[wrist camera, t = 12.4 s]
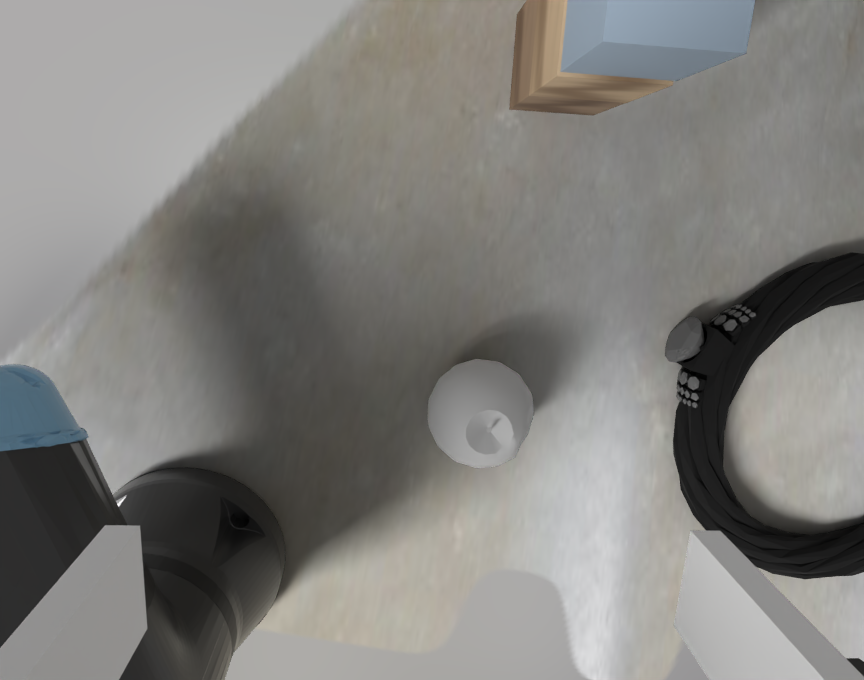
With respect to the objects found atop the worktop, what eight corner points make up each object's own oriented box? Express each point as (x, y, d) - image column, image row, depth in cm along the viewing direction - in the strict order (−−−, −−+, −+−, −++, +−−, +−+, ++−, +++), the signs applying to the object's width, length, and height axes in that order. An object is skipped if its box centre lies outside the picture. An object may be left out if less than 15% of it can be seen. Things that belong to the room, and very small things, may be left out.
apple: (404, 391, 45) (407, 432, 38) (481, 327, 44) (501, 355, 37) (466, 459, 47) (481, 512, 39) (541, 399, 46) (572, 440, 38)
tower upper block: (529, 95, 35) (556, 76, 29) (539, -17, 34) (570, -61, 28) (626, 102, 36) (672, 84, 30) (640, -8, 34) (691, -49, 28)
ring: (887, 635, 50) (593, 500, 45) (852, 604, 54) (577, 476, 49) (1104, 355, 45) (801, 166, 40) (1050, 343, 49) (766, 168, 43)
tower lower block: (509, 109, 41) (529, 95, 35) (517, 14, 39) (539, -17, 34) (593, 115, 41) (626, 102, 36) (603, 21, 40) (640, -8, 34)
